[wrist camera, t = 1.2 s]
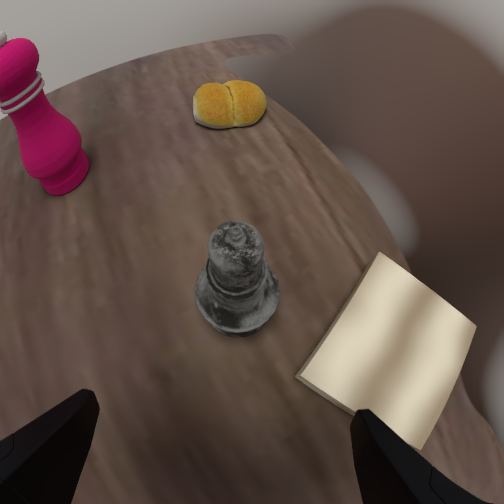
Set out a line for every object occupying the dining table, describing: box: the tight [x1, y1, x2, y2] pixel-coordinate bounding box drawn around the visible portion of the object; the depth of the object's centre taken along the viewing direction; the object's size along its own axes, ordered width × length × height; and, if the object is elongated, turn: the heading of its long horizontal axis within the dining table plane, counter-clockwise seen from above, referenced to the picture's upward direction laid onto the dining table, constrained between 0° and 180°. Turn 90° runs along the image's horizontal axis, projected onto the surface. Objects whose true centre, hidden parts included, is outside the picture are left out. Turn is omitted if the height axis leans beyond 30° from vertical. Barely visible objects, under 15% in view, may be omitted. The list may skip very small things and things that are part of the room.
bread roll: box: [193, 80, 266, 129], centre depth 33 cm, size 8×9×4 cm
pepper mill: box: [0, 31, 89, 195], centre depth 21 cm, size 7×7×20 cm
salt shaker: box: [195, 221, 280, 337], centre depth 19 cm, size 6×6×12 cm
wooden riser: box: [295, 252, 476, 450], centre depth 21 cm, size 12×12×2 cm
